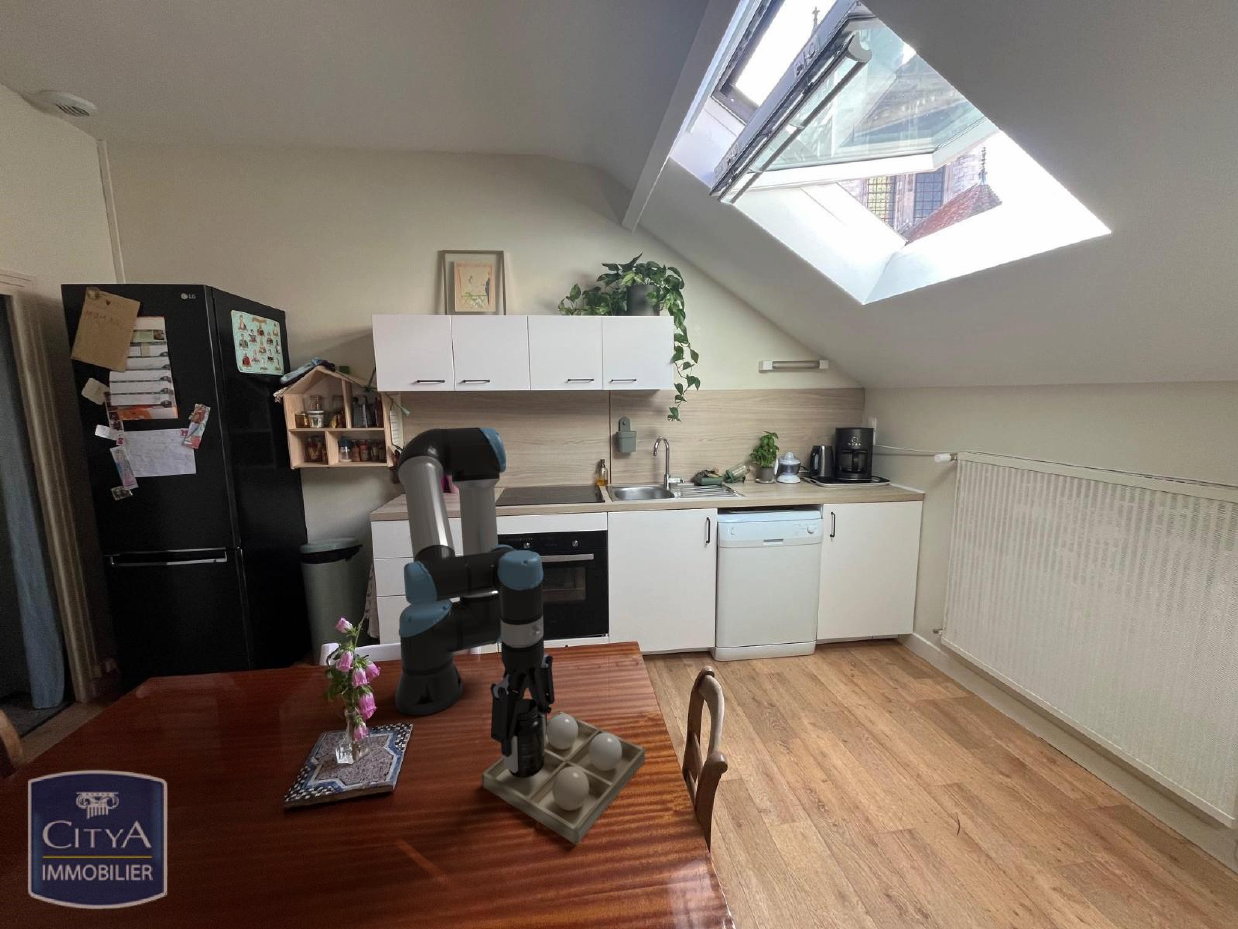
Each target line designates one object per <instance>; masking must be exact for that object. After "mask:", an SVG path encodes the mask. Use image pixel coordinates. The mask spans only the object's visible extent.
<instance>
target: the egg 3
mask: <svg viewBox="0 0 1238 929" xmlns="http://www.w3.org/2000/svg"><path fill="white" fill-rule="evenodd" d="M610 733H611V732H608V733H601V734H599V735H597V736H596V737H595V738H594V739H593V740H592V742H591V744H590V746H589V758H590V761H591V763H592V765H593V766H594V767H595V768H596V769H598V770H600V771H610V770H612V769H614V768H615V767H616V766H617V765H618V764H619V762H620V760H621V757H622V747H621V744H620V742H619V740H618V739H617V737H618V736H617V735H615V734H613V733H611V734H610ZM614 735H615V736H614ZM616 736H617V737H616Z"/></svg>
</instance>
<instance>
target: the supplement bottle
mask: <svg viewBox="0 0 1238 929" xmlns="http://www.w3.org/2000/svg"><path fill="white" fill-rule="evenodd" d="M514 736H516V737H517V754H518V771H517V772H516V773H514V772H512V771H510V770H509V769H508V770H509V772H510V773H511V774H512V775H513V776H515V777H517V778H529V777H532V776H534V775H536V774H537V773H539V772H540V771H541V769H542V768H543V766H544V762H545V754H544V725H543V719H542V717H541V716H540V715H539V714H538V710H537V703H536V702H535V701H534V700H532V698H528V697H527V698H523V699H521V702H520V706H519V711H518V716H517V721H516V726H515V731H514Z"/></svg>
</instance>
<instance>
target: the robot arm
mask: <svg viewBox="0 0 1238 929" xmlns="http://www.w3.org/2000/svg"><path fill="white" fill-rule="evenodd" d="M397 462H398V463H397V477H398V479H399V480H398V481H399V482H400V483H401V484H402V485H403V487H404V495H405V500H406V510H407V516H408V519H407V520H408V526H409V534H410V543H411V550H412V551H411V552H412V560H413V561H412V562H407V563H406V564H405V565H404V566H403V581H404V594H405V600H406V602H407V603H408V604H409V605H407V606H406V607H405V608H404V609H403V610H402V612H401V613H400V615H399V620H398V622H399V628H398V636H399V640H400V663H401V664H400V665H401V671H400V672H401V673H400V677H399V681H398V683H397V687H396V691H395V692H394V693H395V696H394V697H395V698H394V701H395V707H396V709H397V710H398V711H399V712H401V713H402V714H404V715H409V716H426V715H432V714H435V713H438V712H441V711H444V710H446V709H448V708H449V707H451V706H453V705H455V704H456V702H457V701H459V700H460V698H461V696H462V695H463V690H464V687H463V679H462V676H461V674H460V672H459V670H458V667H457V666H456V663H455V661H454V659H455V658H454V653H456V652H460V651H461V652H462V651H466V650H471V649H474V648H479V647H483V646H489V645H496V644H498V643H500V649H501V650H500V651H501V656H500V657H501V662H502V664H503V666H504V672H503V676H502V680H500V681H499V682H498V684H496V683H491V686H490V692H491V697H492V703H491V708H492V709H491V722H490V724H491V725H490V738H491V739H492V740H494V741H496V742H498V743H500V753H501V755H502V756H504V767H505V768H507V769H509V770H510V771H512V772H514V773H516V772H517V771H518V754H517V737H516V736H514V731H515V726H516V721H517V716H518V711H519V706H520V702H521V699H524V697H525V693H526V691H527V689H528V691H529V694H530V697H531V699H532V700H534V701H535V702H536V703H537V710H538V714H539V715H540V716H541V717H542V719H543V725H544V747H545V746H546V725H547V720H548V715H549V714H550V713H552V709H553V708H552V707H550V705H554V704H555V700H556V699H555V698H556V697H555V689H554V679H553V678H554V677H553V669H552V668H553V661H554V657H553V655H549V654H547V653H545V643H544V642H545V639H544V637H543V636H544V592H543V590H544V588H543V584H544V583H543V581H544V579H543V578H544V570H543V562H542V558H541V555H540V554H539V553H538V552H535V551H531V550H526V549H525V550H523V549H519V550H517V549H515V548H514V547H512V546H510V545H508V544H499V537H498V525H497V524H498V522H497V508H496V496H495V495H496V493H495V492H496V491H495V487H496V485H497V484H498V483H499V482H500V480H501V478H500V477H501V475H500V474H502V473H504V472H505V471H506V469H507V454H506V450H505V445H504V442H503V439H502V436H501V435H500V433H499V432H498V430H496V429H495V428H492V427H481V426H477V427H455V428H451V427H450V428H438V427H437V428H431V429H427V430H425V431H422V432H420V433H419V434H417V435H416V436H414V437H413V438H412V439H410V441H409V442H407V444H405V446H404V448H403V449H402V451H401V453H400V455H399V457H398V461H397ZM443 477H451V484H452V485H453V486H454V487H456V488H457V489H458V494H459V495H458V496H459V512H460V513H459V514H460V524H461V525H460V527H461V542H462V555H458V556H456V551H455V546H454V541H453V537H452V536H453V535H452V530H451V526H450V519H449V516H448V510H447V506H446V505H447V504H446V501H445V497H444V491H443V487H442V486H443V485H442V478H443ZM456 598H459V600H458V601H457V600H456V601H452V600H451V599H456Z"/></svg>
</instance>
